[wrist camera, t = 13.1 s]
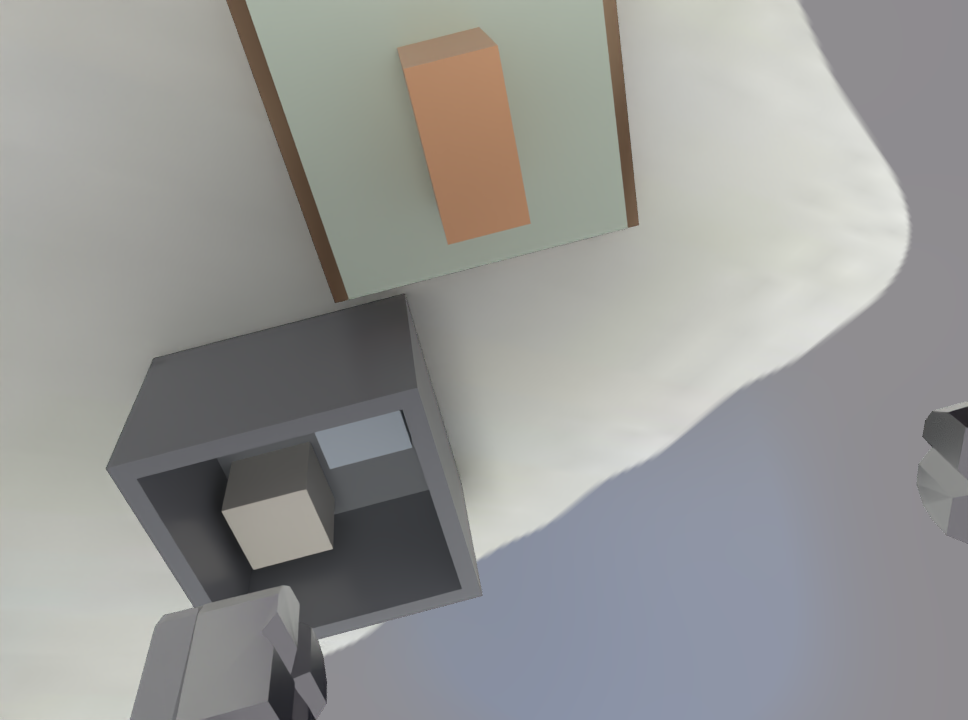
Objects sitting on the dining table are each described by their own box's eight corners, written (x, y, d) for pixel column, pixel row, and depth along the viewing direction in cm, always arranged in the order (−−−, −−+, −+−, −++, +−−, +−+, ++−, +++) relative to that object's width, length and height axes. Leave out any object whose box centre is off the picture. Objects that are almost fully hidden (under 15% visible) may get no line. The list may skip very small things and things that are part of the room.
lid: (349, 279, 33) (348, 347, 28) (247, -19, 27) (223, -1, 21) (613, 211, 33) (660, 267, 28) (576, -101, 27) (628, -102, 22)
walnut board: (335, 291, 34) (335, 303, 33) (214, -48, 27) (209, -46, 26) (630, 215, 35) (638, 225, 34) (592, -143, 27) (601, -144, 26)
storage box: (249, 538, 41) (229, 662, 34) (153, 358, 35) (105, 468, 28) (461, 482, 41) (482, 595, 35) (404, 293, 35) (417, 387, 28)
